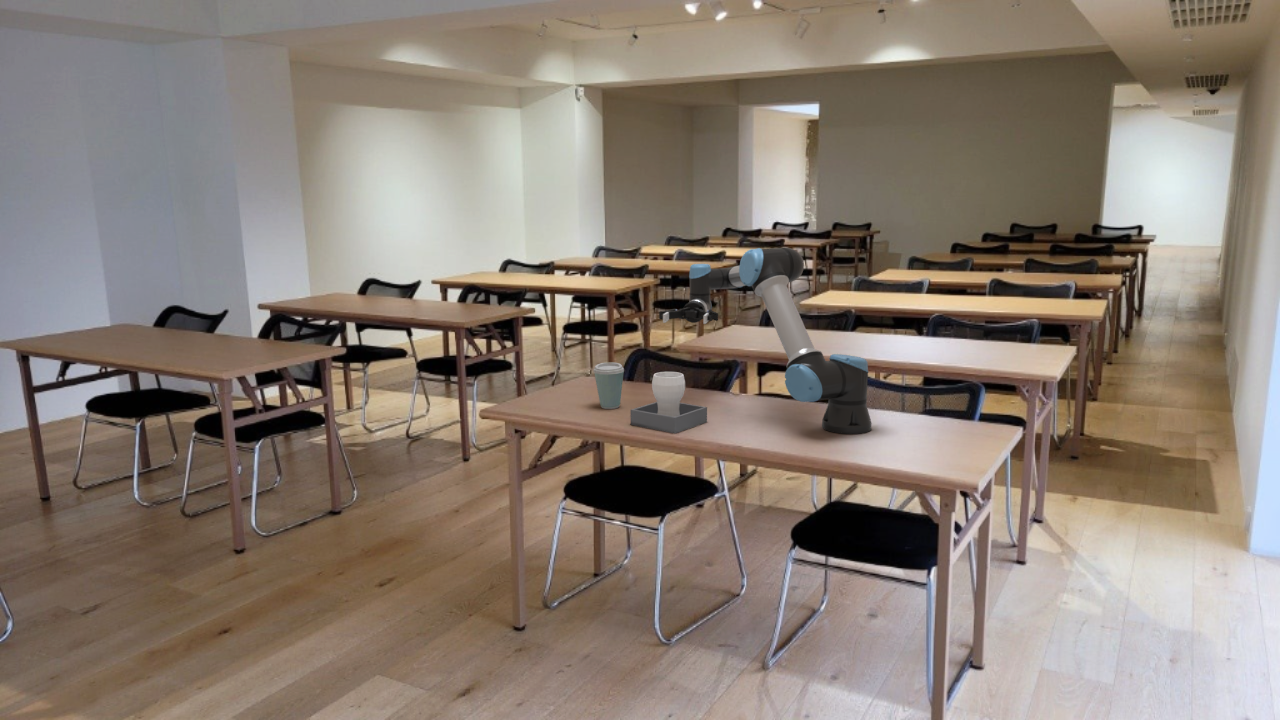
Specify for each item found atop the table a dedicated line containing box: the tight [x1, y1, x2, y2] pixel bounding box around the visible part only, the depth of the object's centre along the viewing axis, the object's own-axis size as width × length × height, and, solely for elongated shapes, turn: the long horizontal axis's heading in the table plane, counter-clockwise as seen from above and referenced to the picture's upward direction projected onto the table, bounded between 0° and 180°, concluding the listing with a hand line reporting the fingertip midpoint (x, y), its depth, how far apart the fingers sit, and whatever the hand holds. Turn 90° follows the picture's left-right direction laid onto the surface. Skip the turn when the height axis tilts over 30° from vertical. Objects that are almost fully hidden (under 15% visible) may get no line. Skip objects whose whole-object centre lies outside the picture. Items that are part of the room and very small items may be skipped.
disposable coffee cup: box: [593, 361, 625, 410], centre depth 316 cm, size 11×11×15 cm
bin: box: [630, 401, 708, 435], centre depth 295 cm, size 18×18×5 cm
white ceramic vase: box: [651, 371, 686, 417], centre depth 294 cm, size 11×11×15 cm
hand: (684, 319), depth 303 cm, fingers open, 13 cm apart
